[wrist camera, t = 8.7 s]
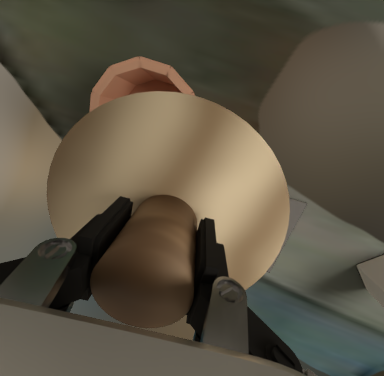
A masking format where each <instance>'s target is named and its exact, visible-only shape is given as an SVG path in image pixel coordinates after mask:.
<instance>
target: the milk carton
mask: <svg viewBox="0 0 384 376" xmlns="http://www.w3.org/2000/svg"><path fill="white" fill-rule="evenodd" d="M357 268H358V270H359V273H360V275H361V278H362V280H363V282H364V285H365V287H366V289H367V291H368V292H369V293H370V294H371V295H372V296H373V297H374V298H375V299H376V300H377V301H378V302H379V303H380V304H381V305H382V306H383V307H384V255H382V256H379V257H377V258H374V259H371V260H369V261H366V262H363V263H361V264H358V265H357Z"/></svg>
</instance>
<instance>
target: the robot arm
mask: <svg viewBox="0 0 384 376" xmlns="http://www.w3.org/2000/svg"><path fill="white" fill-rule="evenodd" d="M132 207H133V202H132V201H130V198H126V197H122V196H120V197H119V198H118V199H117V200H116V201H114V202H113V203H112V204H111V205H110V206H109V207H108V208H107V209H106V210H105V211H104V212H103V213H102V214H97V215H96V216H95V217H93V218H92V219H91V220H90V221H89V222H88V223H87V224H86V225H85V226H84V227H82V228H81V229H80V230H79V231H78V232H77V233H76V234H75V235H74V236H73V237H71V238H70V239H67V238H54V239H49V240H46V241H44V242H42V243H40V244H39V245H38V246H36V247H35V248H34V249H33V250H32V252H31V253H30V254H29V255H28V256H27V257H25V258H21V259H17V260H13V261H9V262H4V263H0V376H317V375H316V374H314V373H313V372H312V371H311V370H309V369H307V370H306V371H305V370H304V369H303V368H302V367H301V364H300V362H299V360H298V358H297V357H296V355H295V354H294V352H293V351H292V350H291V349H290V348H289V347H288V346H287V345H286V344H285V343H284V342H283V341H282V340H281V339H280V338H279V337H278V336H277V335H276V334H275V333H274V332H273V331H272V330H271V329H270V328H269V327H268V326H267V325H266V324H265V323H264V322H263V321H262V320H261V319H260V318H259V317H258V316H257V315H256V314H255V313H254V312H253V311H252V310H251V309H250V308H249V307H248V306H247V296H246V292H245V290H244V288H243V287H242V286H241V284H240V283H238V282H237V281H236V280H234V279H232V278H229V274H228V268H227V262H226V255H225V249H224V245H223V244H220V243H217V241H216V231H215V222H214V219H210V218H206V217H205V218H204V219H201V220H200V223H199V226H198V230H197V241H196V259H195V277H194V298H193V303H192V306H191V308H190V310H189V311H188V312H187V314H186V315H187V322H186V323H188V324H190V325H191V326H192V327H193V328H194V330H195V333H194V337H193V341H192V340H187V339H183V338H179V337H175V336H170V335H166V334H162V333H157V332H153V331H148V330H144V329H140V328H135V327H131V326H127V325H122V324H118V323H113V322H109V321H104V320H100V319H96V318H91V317H87V316H82V315H78V314H73V313H70V311H71V309H72V307H73V304H74V301H76V300H79V299H83V300H88V299H89V298H90V296H91V295H92V292H91V287H90V278H91V274H92V271H93V269H94V267H95V266H96V264H97V263H98V262H99V260H100V259H101V257H102V256H103V255H104V253H105V252H106V250H107V249H108V248H109V246H110V245H111V244H112V242H113V241H114V239H115V238H116V237H117V235H118V234H119V233H120V231H121V230H122V228H123V227H124V226H125V224H126V223H127V222H128V220H129V219H130V217H131V214H132Z"/></svg>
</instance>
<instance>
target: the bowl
mask: <svg viewBox="0 0 384 376" xmlns="http://www.w3.org/2000/svg"><path fill="white" fill-rule="evenodd" d="M92 91H93V92H91V100H90V112H91V111H93V110H94V109H96V108H97V107H99V106H100V105H102V104H105V103H107V102H109V101H112V100H114V99H116V98H119V97H123V96H127V95H131V94H135V93H142V92H152V91H165V92H178V93H183V94H188V95H193V96H195V94H194V92H193V90H192V89H191V88H190V87H189V86H188V85H187V83H186V82H185V81H184V80H183V79H182V78H181V77H180V75H179V74H178V73H177V72H176V71H175V70H174V69H173V67H171V66H170V65H166V64H163V63H160V62H157V61H154V60H150V59H147V58H144V57H141V56H140V57H139V56H138V57H135V58H132V59H129V60H126V61H123V62H120V63H117V64H114V65H111V67H108V69H107V70H106V71H105V73H104V74H103V76H102V77H101V78H100V80H99V81H98V82H97V84H96V85H95V86H94V88H93V89H92Z"/></svg>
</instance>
